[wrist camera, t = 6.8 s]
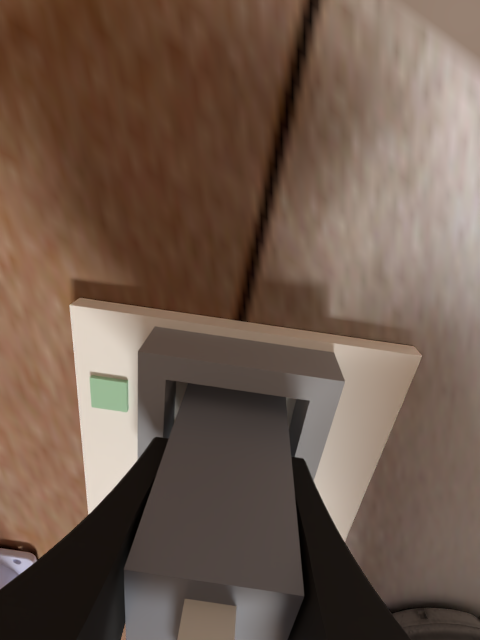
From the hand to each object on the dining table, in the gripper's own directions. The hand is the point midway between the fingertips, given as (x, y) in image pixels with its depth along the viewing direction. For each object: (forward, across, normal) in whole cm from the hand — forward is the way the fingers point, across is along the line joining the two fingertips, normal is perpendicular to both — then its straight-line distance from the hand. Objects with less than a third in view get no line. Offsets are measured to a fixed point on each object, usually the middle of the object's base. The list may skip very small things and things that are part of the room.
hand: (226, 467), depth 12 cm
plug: (+3, 0, 0) cm, 3 cm away
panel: (+4, 0, +6) cm, 7 cm away
